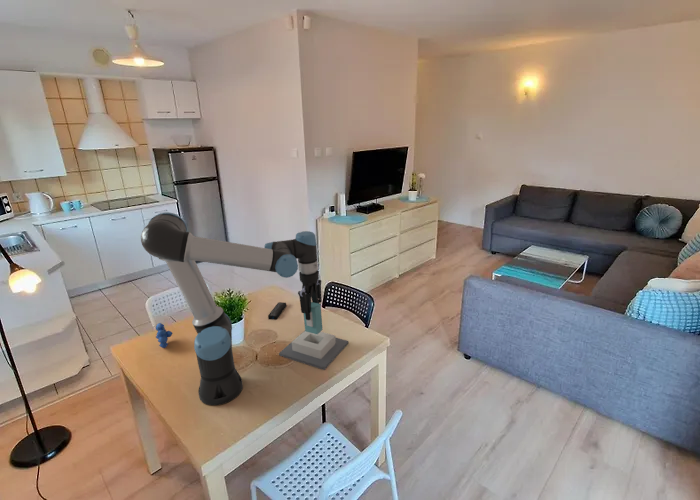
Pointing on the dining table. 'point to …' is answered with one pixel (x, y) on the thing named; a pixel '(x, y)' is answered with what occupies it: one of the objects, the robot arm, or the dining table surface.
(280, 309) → the multiport hub
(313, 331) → the teal peg
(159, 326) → the grapes
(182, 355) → the dining table surface
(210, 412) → the dining table surface
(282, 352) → the socket block
